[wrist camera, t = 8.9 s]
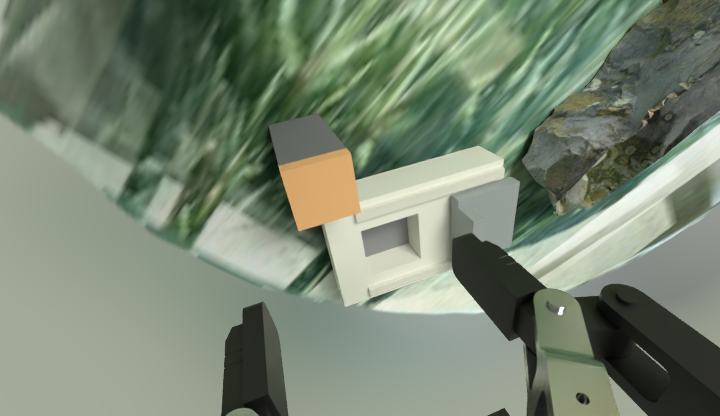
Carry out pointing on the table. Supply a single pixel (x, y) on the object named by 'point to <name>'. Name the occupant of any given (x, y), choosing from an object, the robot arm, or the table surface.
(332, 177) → the plug
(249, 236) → the table surface
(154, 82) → the table surface
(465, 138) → the table surface
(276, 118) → the table surface
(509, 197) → the grey l-shaped block
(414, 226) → the socket block
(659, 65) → the stone
